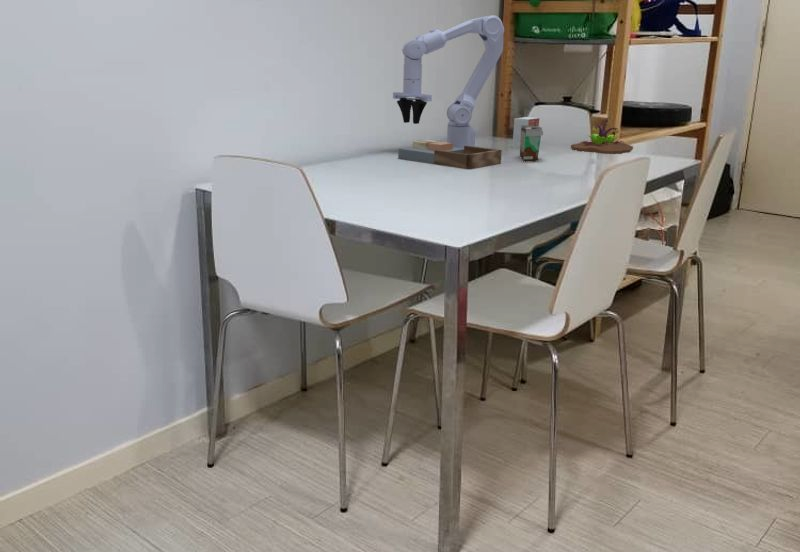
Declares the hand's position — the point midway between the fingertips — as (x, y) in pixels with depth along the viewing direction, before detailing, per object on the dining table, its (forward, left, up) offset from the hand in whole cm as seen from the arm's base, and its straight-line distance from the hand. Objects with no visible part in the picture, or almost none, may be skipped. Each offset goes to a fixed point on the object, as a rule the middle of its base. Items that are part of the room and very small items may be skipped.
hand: (411, 123), depth 254 cm
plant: (-52, +41, -10) cm, 67 cm away
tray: (+5, +27, -9) cm, 29 cm away
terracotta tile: (+5, +16, -6) cm, 18 cm away
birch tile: (+5, +10, -6) cm, 13 cm away
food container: (-17, +35, -10) cm, 40 cm away
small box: (-37, +20, -10) cm, 43 cm away
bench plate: (+5, +13, -9) cm, 17 cm away
